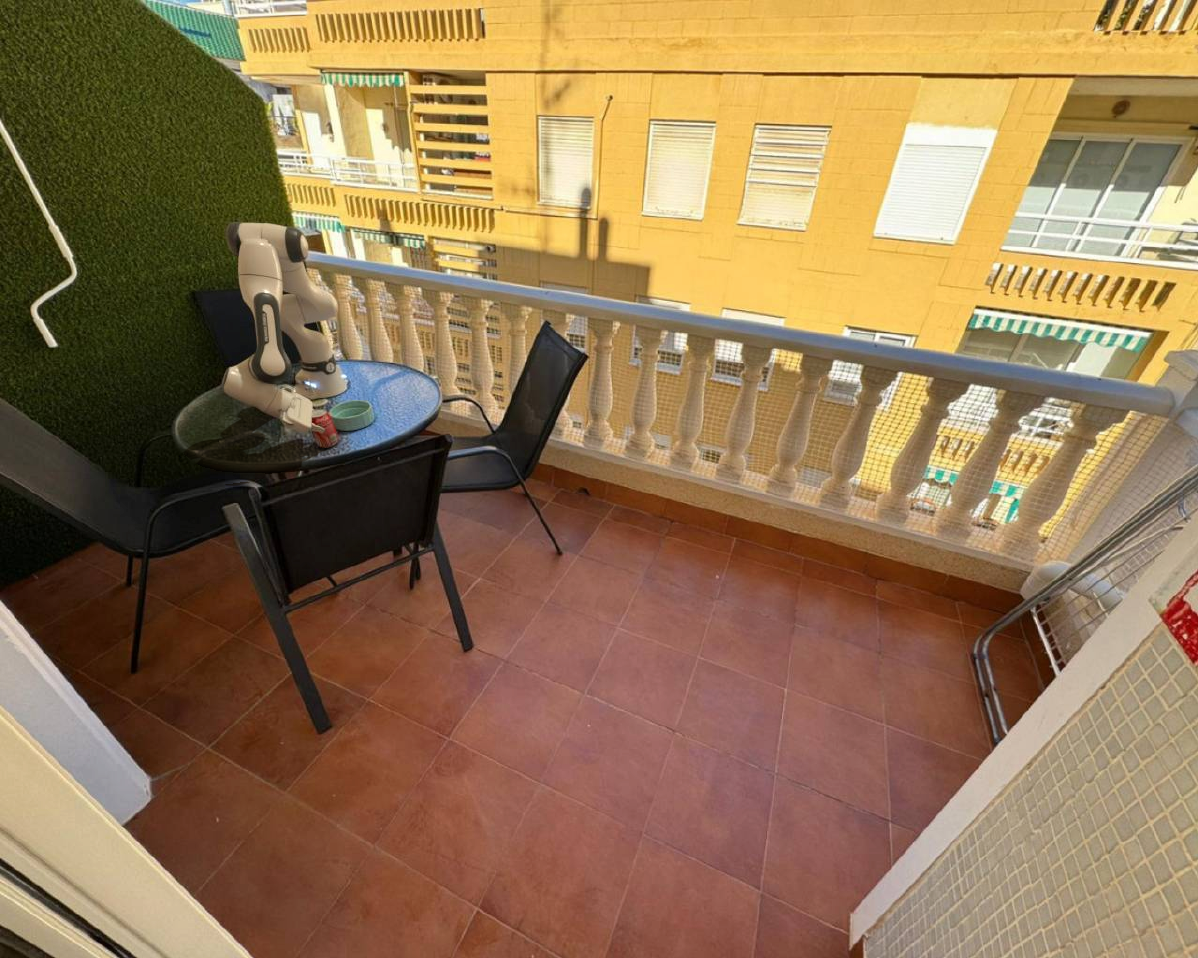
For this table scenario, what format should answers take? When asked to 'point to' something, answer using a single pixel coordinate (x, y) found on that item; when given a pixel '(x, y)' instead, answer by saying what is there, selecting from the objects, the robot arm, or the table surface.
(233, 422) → the table surface
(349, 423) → the bowl
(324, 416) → the soda can
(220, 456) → the table surface
